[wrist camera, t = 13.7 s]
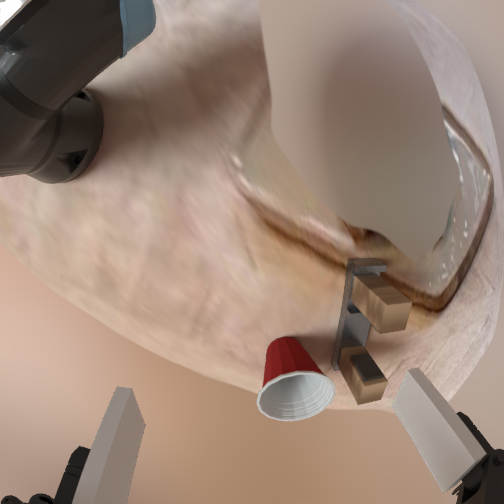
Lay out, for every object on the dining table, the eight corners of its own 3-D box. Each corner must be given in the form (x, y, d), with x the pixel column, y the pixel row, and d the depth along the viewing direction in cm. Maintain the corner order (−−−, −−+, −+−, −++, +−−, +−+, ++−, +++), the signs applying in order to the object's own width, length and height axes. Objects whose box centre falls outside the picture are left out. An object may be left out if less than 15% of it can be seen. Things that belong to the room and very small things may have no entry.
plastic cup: (237, 355, 44) (239, 408, 32) (281, 311, 42) (298, 359, 30) (283, 383, 46) (295, 432, 35) (326, 344, 44) (350, 391, 33)
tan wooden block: (354, 275, 39) (386, 305, 29) (376, 274, 39) (412, 302, 30) (350, 302, 40) (379, 337, 30) (372, 301, 40) (404, 332, 31)
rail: (348, 258, 40) (357, 266, 37) (375, 258, 41) (386, 265, 37) (331, 363, 46) (337, 376, 42) (355, 360, 46) (362, 372, 43)
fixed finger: (342, 345, 42) (365, 383, 33) (363, 342, 43) (388, 378, 33) (337, 366, 44) (358, 404, 34) (358, 363, 44) (380, 399, 34)
